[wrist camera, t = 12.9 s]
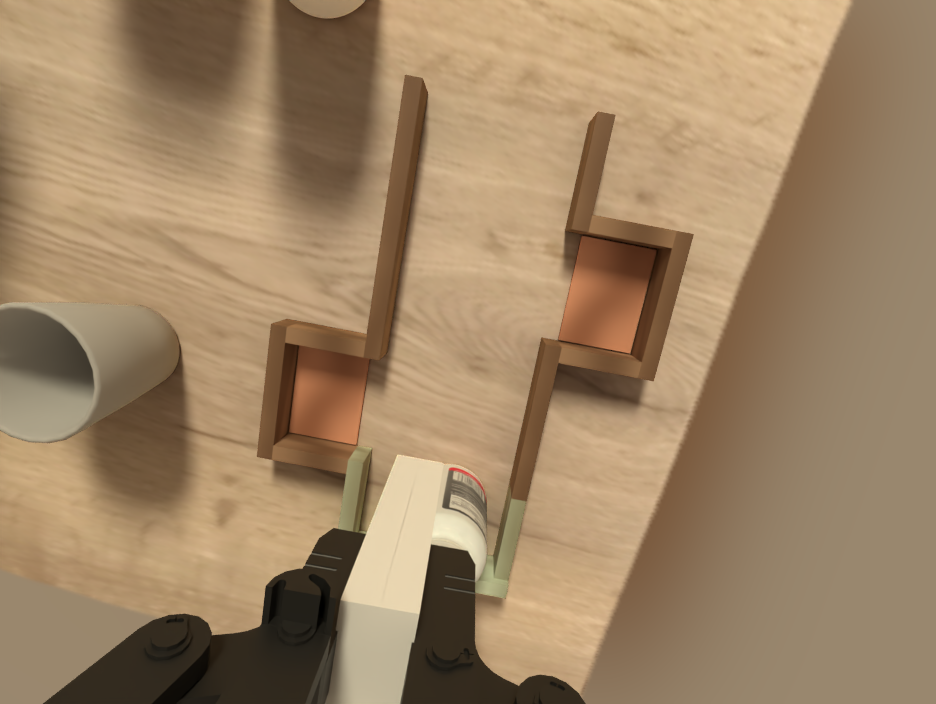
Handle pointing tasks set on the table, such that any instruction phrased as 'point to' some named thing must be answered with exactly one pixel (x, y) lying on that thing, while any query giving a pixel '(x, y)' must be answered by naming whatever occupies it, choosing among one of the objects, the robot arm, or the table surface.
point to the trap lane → (584, 322)
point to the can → (327, 7)
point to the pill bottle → (462, 514)
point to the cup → (77, 364)
